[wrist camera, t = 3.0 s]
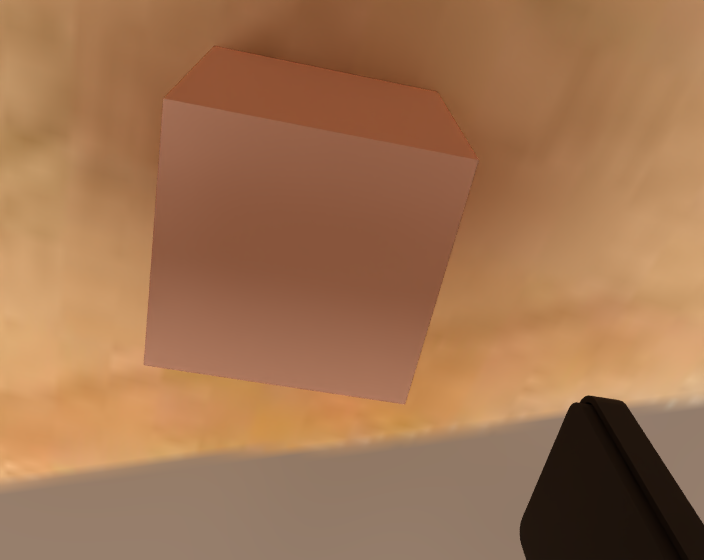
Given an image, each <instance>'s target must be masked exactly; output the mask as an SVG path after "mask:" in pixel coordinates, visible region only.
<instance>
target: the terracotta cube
mask: <svg viewBox="0 0 704 560" xmlns="http://www.w3.org/2000/svg"><path fill="white" fill-rule="evenodd" d="M478 162H479V159H478V158H477V156H476V154H475V153H474V151H473V150H472V148H471V146H470V145H469V143H468V141H467V140H466V138H465V136H464V135H463V133H462V131H461V130H460V128H459V127H458V125H457V123H456V122H455V120H454V118H453V117H452V115H451V113H450V112H449V110H448V108H447V107H446V105H445V104H444V102H443V100H442V99H441V97H440V95H439V94H438V92H436V91H431V90H427V89H422V88H417V87H412V86H407V85H402V84H397V83H393V82H388V81H383V80H378V79H373V78H368V77H363V76H359V75H354V74H349V73H344V72H339V71H334V70H329V69H325V68H320V67H315V66H310V65H305V64H300V63H295V62H291V61H286V60H281V59H276V58H271V57H266V56H261V55H257V54H252V53H247V52H242V51H237V50H232V49H227V48H223V47H218V46H214V47H213V48H212V49H211V50H210V51H209V52H208V53H207V54H206V55H205V56H204V57H203V58H202V59H201V60H200V61H199V62H198V63H197V64H196V65H195V66H194V67H193V68H192V69H191V70H190V71H189V73H188V74H187V75H186V76H185V77H184V78H183V79H182V80H181V81H180V82H179V83H178V84H177V85H176V86H175V87H174V88H173V89H172V90H171V91H170V92H169V93H168V94H167V95H166V96H165V97H164V98H163V109H162V122H161V136H160V150H159V163H158V177H157V191H156V204H155V218H154V231H153V245H152V259H151V272H150V286H149V300H148V313H147V327H146V341H145V354H144V365H146V366H152V367H159V368H166V369H172V370H179V371H186V372H192V373H199V374H206V375H212V376H219V377H226V378H232V379H239V380H246V381H252V382H259V383H266V384H272V385H279V386H286V387H292V388H299V389H306V390H312V391H319V392H326V393H332V394H339V395H346V396H352V397H359V398H366V399H372V400H379V401H386V402H393V403H399V404H405V403H406V400H407V396H408V393H409V390H410V386H411V383H412V380H413V376H414V373H415V370H416V367H417V363H418V360H419V357H420V353H421V350H422V347H423V343H424V340H425V337H426V333H427V330H428V327H429V324H430V320H431V317H432V314H433V310H434V307H435V304H436V300H437V297H438V294H439V291H440V287H441V284H442V281H443V277H444V274H445V271H446V267H447V264H448V261H449V257H450V254H451V251H452V248H453V244H454V241H455V238H456V234H457V231H458V228H459V224H460V221H461V218H462V215H463V211H464V208H465V205H466V201H467V198H468V195H469V191H470V188H471V185H472V181H473V178H474V175H475V172H476V168H477V165H478Z"/></svg>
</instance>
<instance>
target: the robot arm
mask: <svg viewBox="0 0 704 560" xmlns="http://www.w3.org/2000/svg"><path fill="white" fill-rule="evenodd" d="M520 541H521V545H522V548H523V551H524V554H525V557H526V560H704V524H703V523H702V521H701V520H700V518H699V517H698V515H697V514H696V512H695V510H694V509H693V507H692V506H691V504H690V503H689V501H688V500H687V498H686V497H685V495H684V493H683V492H682V490H681V489H680V487H679V486H678V484H677V483H676V481H675V480H674V478H673V476H672V475H671V473H670V472H669V470H668V469H667V467H666V466H665V464H664V463H663V461H662V459H661V458H660V456H659V455H658V453H657V452H656V450H655V449H654V447H653V446H652V444H651V443H650V441H649V439H648V438H647V437H646V435H645V433H644V432H643V430H642V429H641V427H640V425H639V424H638V423H637V421H636V419H635V418H634V416H633V415H632V413H631V412H630V410H629V409H628V407H627V405H626V404H625V403H624V402H623V401H620V400H614V399H608V398H602V397H595V396H585V397H584V398H583V399H582V400H581V401H580V403H577V402H576V403H573V404H572V405H571V406H570V408H569V409H568V412H567V414H566V416H565V419H564V421H563V423H562V426H561V428H560V431H559V433H558V435H557V438H556V440H555V442H554V445H553V447H552V449H551V452H550V454H549V456H548V459H547V461H546V463H545V466H544V468H543V471H542V473H541V475H540V477H539V480H538V482H537V485H536V487H535V489H534V492H533V494H532V496H531V499H530V501H529V503H528V506H527V508H526V510H525V513H524V515H523V518H522V520H521V524H520Z"/></svg>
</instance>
